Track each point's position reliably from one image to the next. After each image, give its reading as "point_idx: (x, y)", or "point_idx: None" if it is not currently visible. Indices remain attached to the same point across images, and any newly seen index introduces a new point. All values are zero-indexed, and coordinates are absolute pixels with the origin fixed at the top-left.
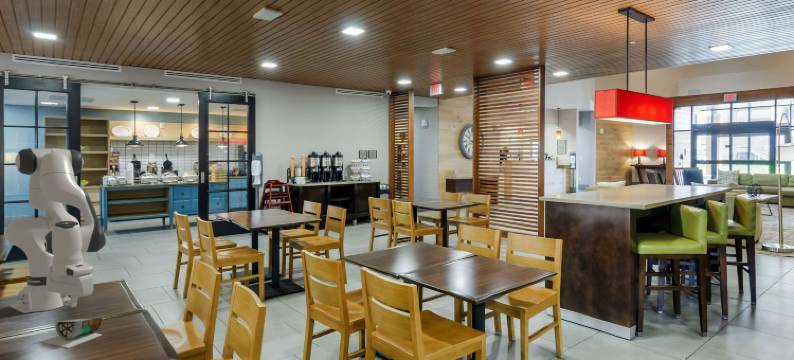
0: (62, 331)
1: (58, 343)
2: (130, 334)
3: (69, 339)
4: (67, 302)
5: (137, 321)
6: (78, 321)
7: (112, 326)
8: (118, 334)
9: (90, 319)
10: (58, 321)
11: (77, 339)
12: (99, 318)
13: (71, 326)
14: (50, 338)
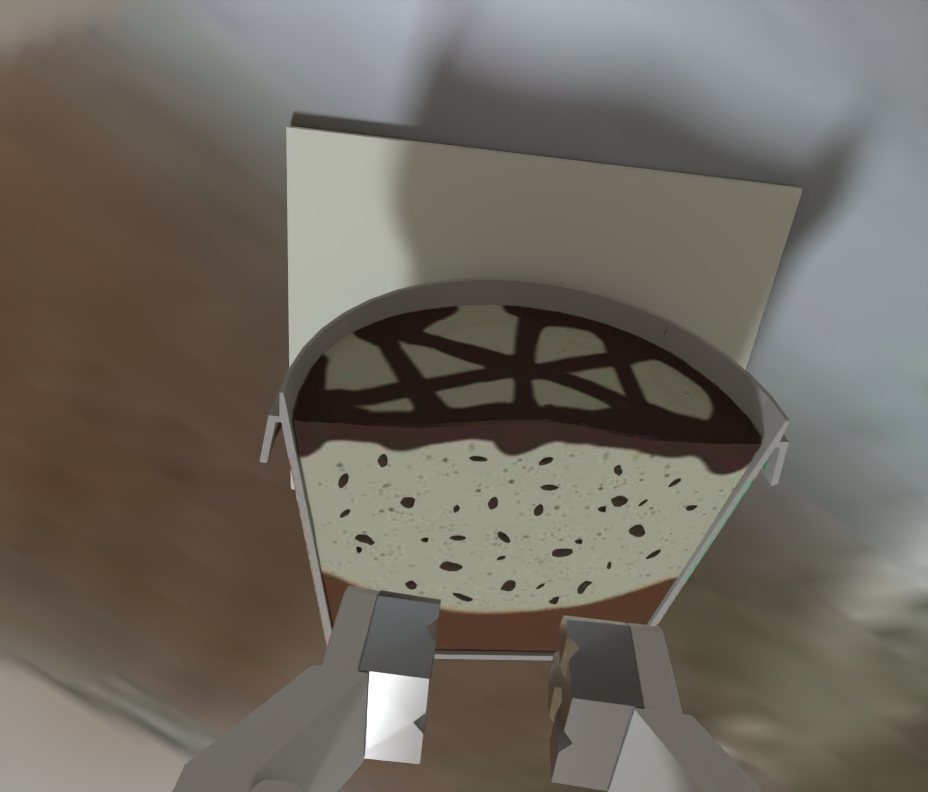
0: (618, 353)
1: (517, 190)
2: (73, 550)
3: None
4: (565, 698)
5: None
6: (268, 417)
7: None
8: (173, 530)
9: (310, 558)
10: (779, 461)
11: None
12: (324, 632)
13: (440, 382)
14: (761, 282)
